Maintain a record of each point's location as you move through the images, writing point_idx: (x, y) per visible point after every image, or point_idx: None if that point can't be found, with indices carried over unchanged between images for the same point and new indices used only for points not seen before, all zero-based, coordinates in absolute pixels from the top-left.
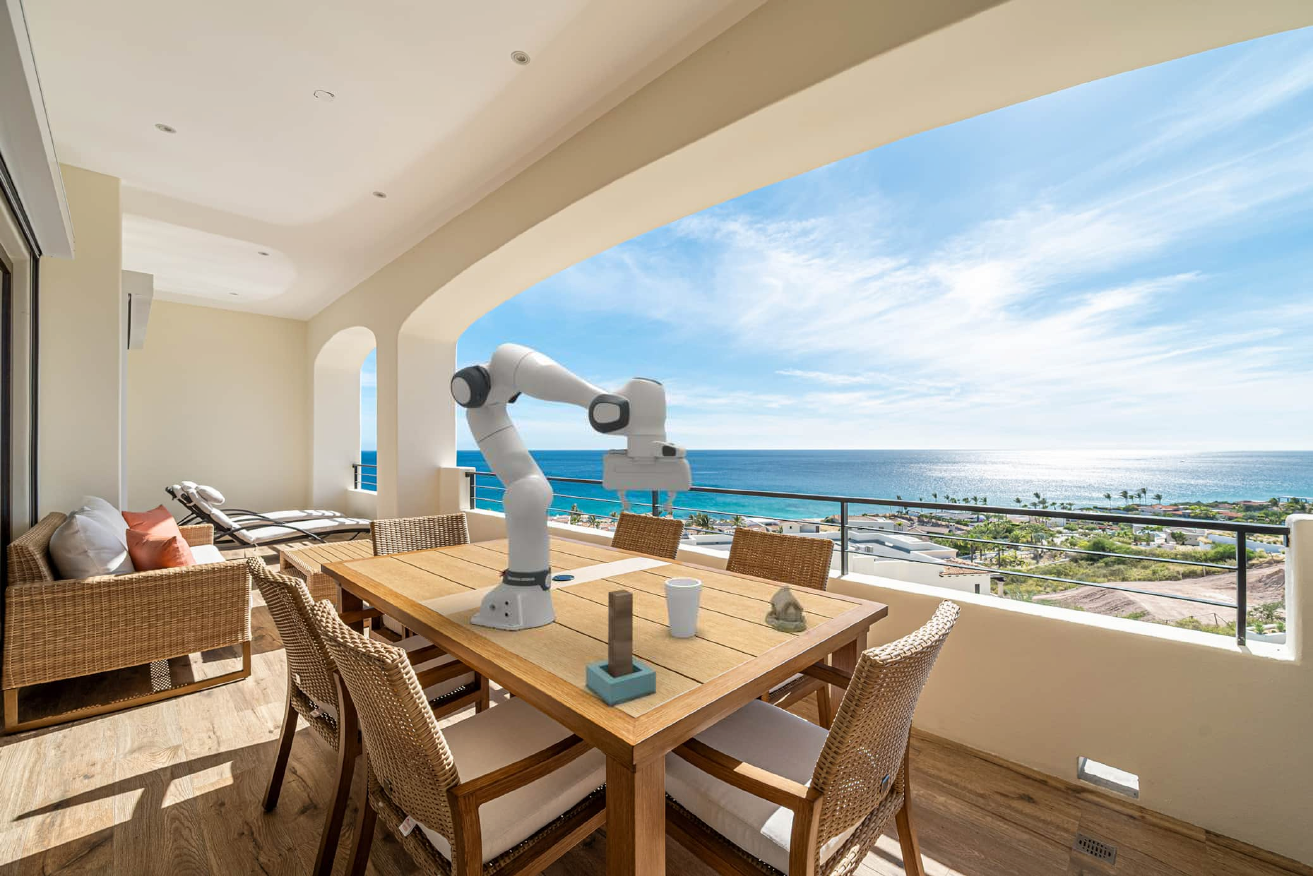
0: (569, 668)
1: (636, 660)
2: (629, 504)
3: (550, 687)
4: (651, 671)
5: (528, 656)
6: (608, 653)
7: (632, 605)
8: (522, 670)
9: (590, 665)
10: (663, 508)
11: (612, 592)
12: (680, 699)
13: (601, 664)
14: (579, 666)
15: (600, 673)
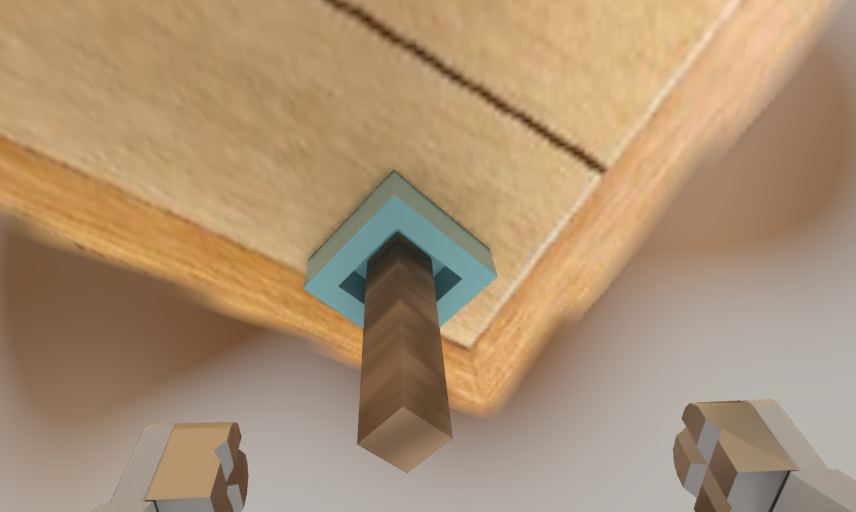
0: (206, 176)
1: (427, 225)
2: (222, 500)
3: (227, 285)
4: (485, 278)
5: (19, 126)
6: (365, 308)
7: (448, 406)
8: (86, 221)
9: (314, 285)
10: (689, 487)
11: (374, 445)
12: (552, 262)
13: (340, 273)
14: (226, 156)
15: (360, 317)
